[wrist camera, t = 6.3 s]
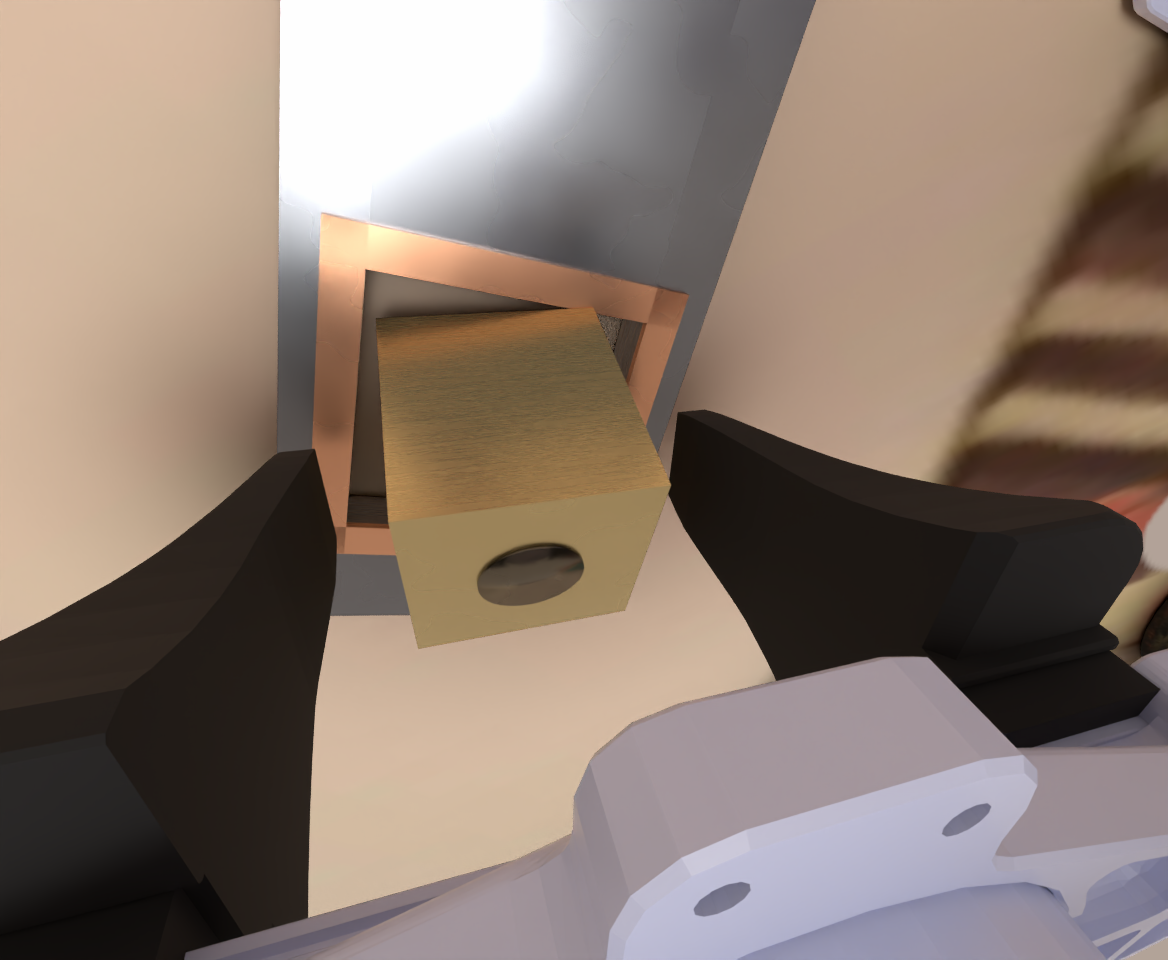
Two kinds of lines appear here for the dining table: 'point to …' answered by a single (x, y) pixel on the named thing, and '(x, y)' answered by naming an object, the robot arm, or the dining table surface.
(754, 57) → the rail
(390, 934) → the robot arm
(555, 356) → the brass cube with hole
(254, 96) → the dining table surface
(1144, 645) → the pitcher
